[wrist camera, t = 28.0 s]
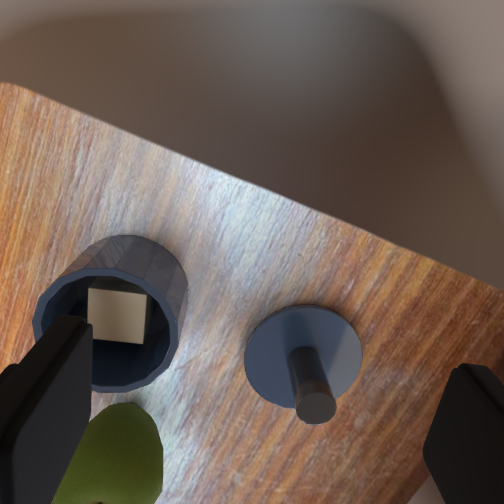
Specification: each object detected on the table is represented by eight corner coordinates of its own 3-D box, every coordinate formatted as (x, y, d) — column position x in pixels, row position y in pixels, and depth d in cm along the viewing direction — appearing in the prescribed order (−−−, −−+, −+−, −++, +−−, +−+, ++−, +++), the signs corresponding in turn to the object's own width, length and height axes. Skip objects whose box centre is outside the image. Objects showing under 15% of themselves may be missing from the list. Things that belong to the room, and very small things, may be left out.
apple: (189, 397, 42) (173, 503, 31) (153, 457, 44) (127, 575, 33) (105, 363, 40) (57, 462, 29) (73, 428, 42) (17, 541, 31)
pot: (158, 217, 35) (139, 246, 28) (206, 317, 39) (200, 366, 32) (49, 260, 36) (4, 298, 29) (105, 354, 40) (77, 410, 32)
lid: (339, 284, 38) (364, 328, 31) (372, 379, 42) (401, 438, 34) (226, 326, 39) (224, 377, 32) (267, 415, 43) (274, 479, 35)
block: (156, 272, 36) (147, 294, 32) (153, 317, 38) (143, 344, 34) (104, 265, 36) (88, 287, 32) (102, 311, 37) (86, 338, 33)
